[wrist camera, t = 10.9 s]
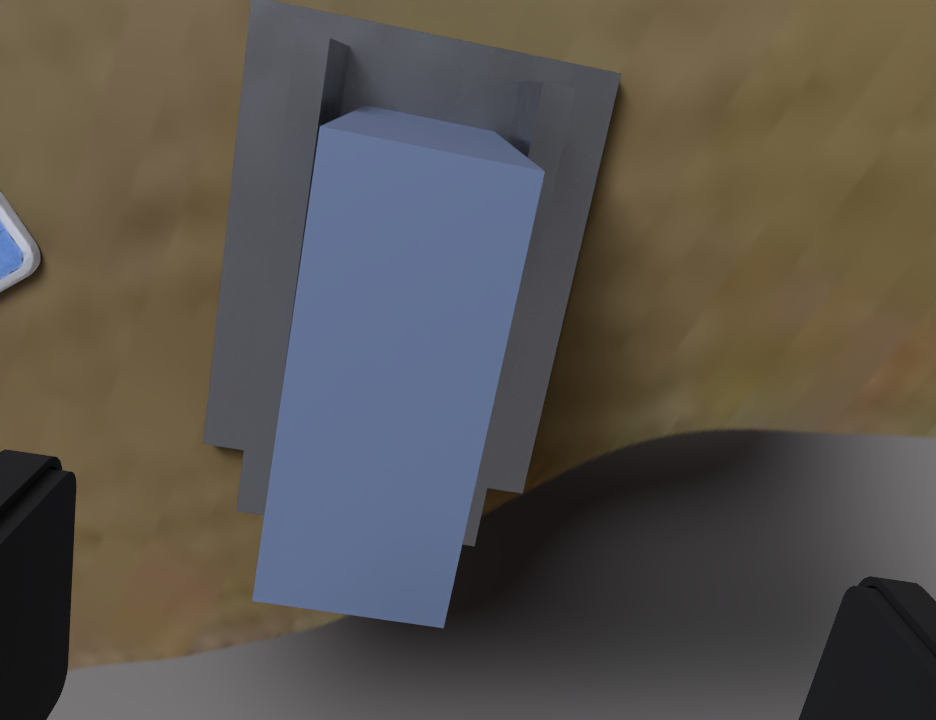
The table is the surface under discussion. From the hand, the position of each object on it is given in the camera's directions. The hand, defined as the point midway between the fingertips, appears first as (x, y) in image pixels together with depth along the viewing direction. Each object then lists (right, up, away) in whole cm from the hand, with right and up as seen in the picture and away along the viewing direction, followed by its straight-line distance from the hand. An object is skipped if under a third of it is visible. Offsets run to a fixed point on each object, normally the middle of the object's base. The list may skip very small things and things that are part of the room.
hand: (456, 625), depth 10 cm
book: (-2, +7, +25) cm, 26 cm away
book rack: (-3, +7, +25) cm, 27 cm away
